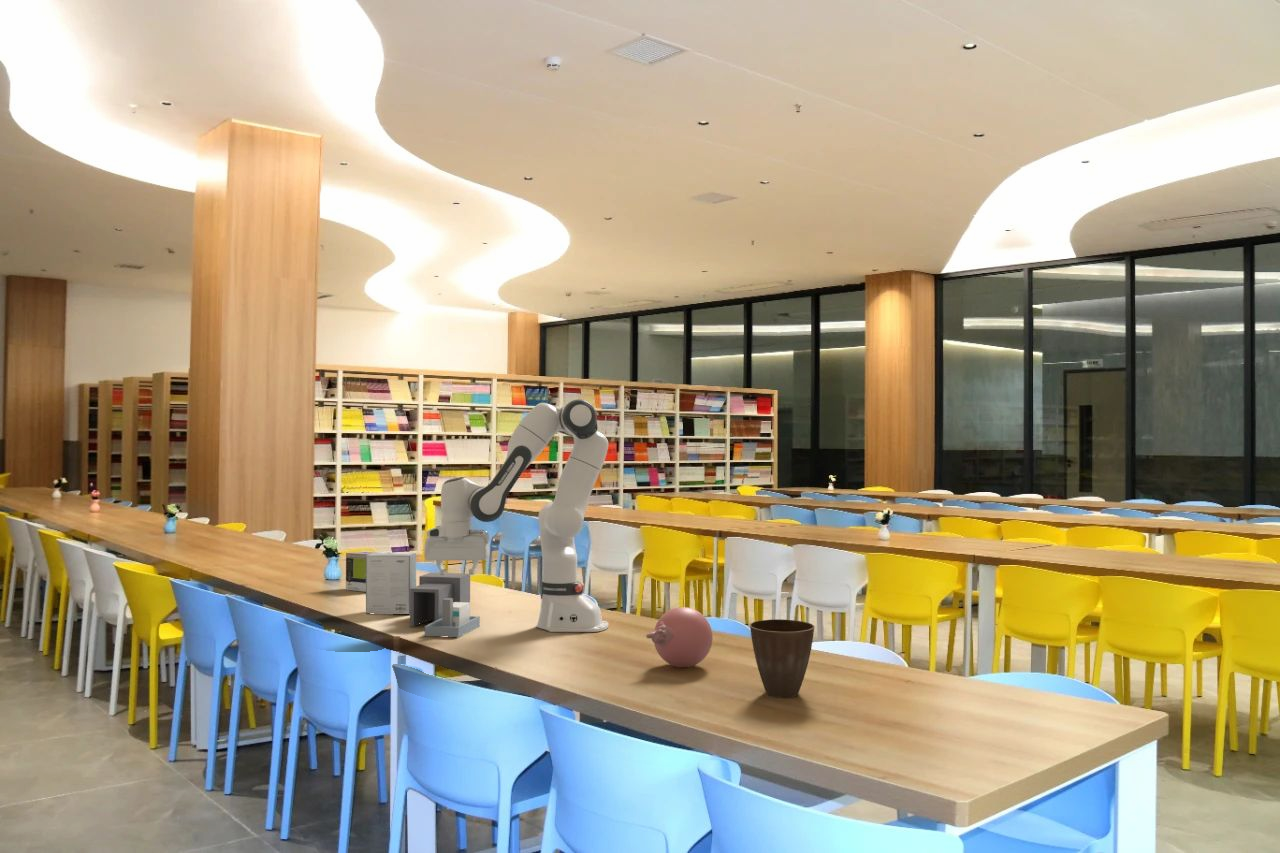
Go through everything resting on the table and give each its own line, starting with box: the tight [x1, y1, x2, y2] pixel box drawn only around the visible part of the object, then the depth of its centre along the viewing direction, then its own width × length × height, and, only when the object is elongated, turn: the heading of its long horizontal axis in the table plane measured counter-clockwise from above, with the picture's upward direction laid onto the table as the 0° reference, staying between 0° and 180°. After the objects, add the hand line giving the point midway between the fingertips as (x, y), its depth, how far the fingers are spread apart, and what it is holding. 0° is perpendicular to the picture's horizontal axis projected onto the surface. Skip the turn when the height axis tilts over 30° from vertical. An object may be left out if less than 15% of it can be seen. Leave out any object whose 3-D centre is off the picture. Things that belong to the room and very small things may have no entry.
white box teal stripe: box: [442, 598, 471, 627], centre depth 304 cm, size 5×13×10 cm, turn 169°
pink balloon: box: [645, 606, 714, 668], centre depth 257 cm, size 15×20×15 cm
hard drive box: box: [365, 552, 417, 615], centre depth 335 cm, size 16×8×20 cm, turn 84°
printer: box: [409, 572, 471, 627], centre depth 320 cm, size 14×22×14 cm, turn 170°
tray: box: [424, 615, 481, 638], centre depth 303 cm, size 11×19×3 cm, turn 170°
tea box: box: [345, 550, 389, 593], centre depth 384 cm, size 15×10×15 cm
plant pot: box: [749, 618, 815, 699], centre depth 231 cm, size 15×15×16 cm
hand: (457, 574), depth 306 cm, fingers open, 8 cm apart
